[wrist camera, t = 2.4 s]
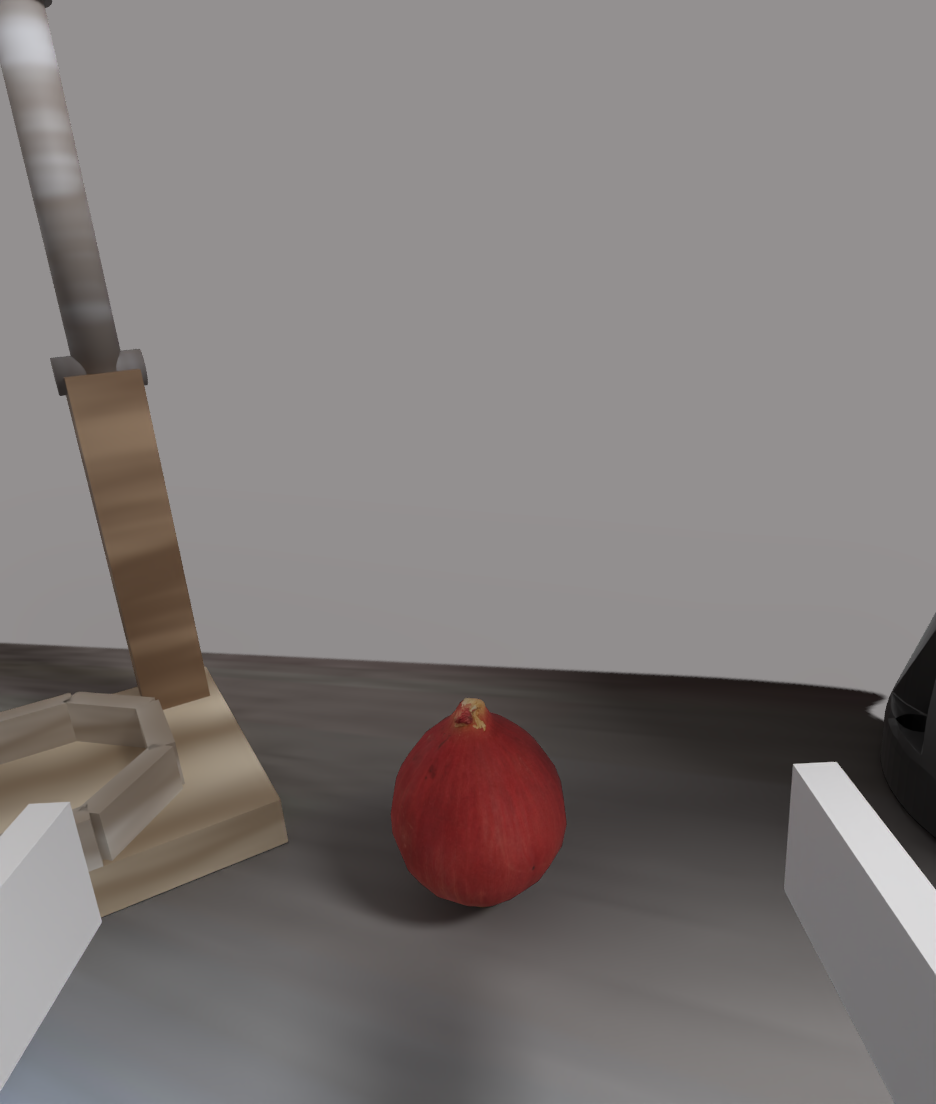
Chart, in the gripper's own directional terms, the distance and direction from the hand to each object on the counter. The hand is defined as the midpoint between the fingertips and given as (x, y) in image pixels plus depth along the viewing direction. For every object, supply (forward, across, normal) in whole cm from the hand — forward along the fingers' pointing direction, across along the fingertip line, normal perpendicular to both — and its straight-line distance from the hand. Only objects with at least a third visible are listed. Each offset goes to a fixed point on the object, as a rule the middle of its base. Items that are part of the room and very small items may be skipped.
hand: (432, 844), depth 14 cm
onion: (+10, 0, -11) cm, 15 cm away
